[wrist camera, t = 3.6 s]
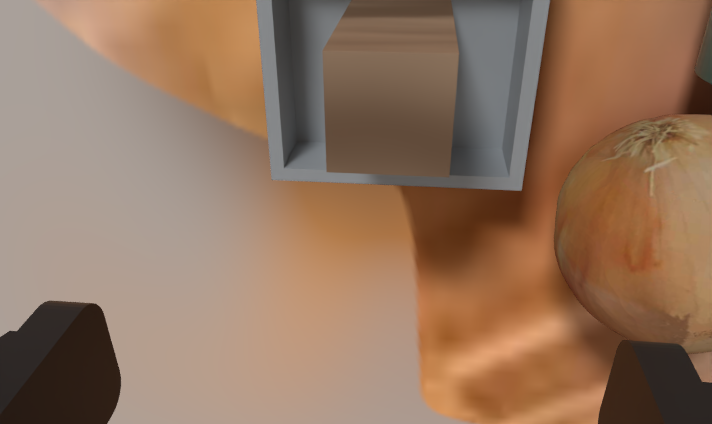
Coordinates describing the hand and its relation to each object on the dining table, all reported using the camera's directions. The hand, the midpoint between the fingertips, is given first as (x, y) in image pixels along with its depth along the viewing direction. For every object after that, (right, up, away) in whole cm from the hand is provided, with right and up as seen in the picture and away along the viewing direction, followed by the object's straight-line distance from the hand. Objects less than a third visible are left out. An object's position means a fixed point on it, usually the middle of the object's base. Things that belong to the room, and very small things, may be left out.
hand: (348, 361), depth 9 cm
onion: (+14, +4, +20) cm, 24 cm away
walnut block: (+2, +10, +17) cm, 20 cm away
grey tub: (+2, +10, +17) cm, 20 cm away
